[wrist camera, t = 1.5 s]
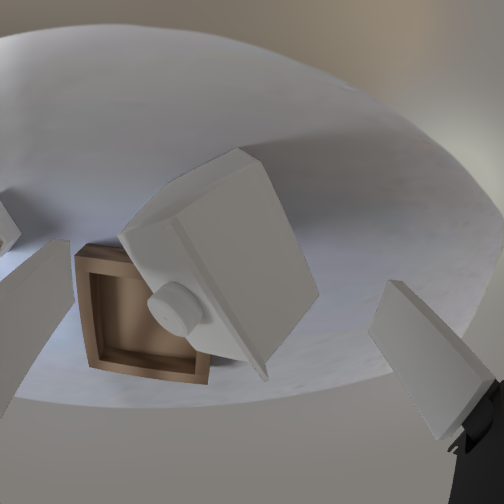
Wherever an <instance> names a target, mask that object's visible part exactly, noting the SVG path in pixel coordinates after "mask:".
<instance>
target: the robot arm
mask: <svg viewBox="0 0 504 504" xmlns="http://www.w3.org/2000/svg"><path fill="white" fill-rule="evenodd" d="M74 302H75V299H74V291H73V281H72V270H71V256H70V241H68V240H61V239H53V240H51V241H50V242H49V243H47V244H46V245H45V246H44V247H42V248H41V249H40V250H38V251H37V252H36V253H34V254H33V255H32V256H31V257H29V258H28V259H27V260H26V261H24V262H23V263H22V264H21V265H20V266H18V267H17V268H16V269H15V270H14V271H12V272H11V273H10V274H9V275H8V276H6V277H5V278H4V279H3V280H2V281H1V282H0V418H2V416H3V414H4V412H5V411H6V409H7V407H8V405H9V403H10V401H11V400H12V398H13V396H14V394H15V393H16V391H17V389H18V387H19V386H20V384H21V382H22V381H23V379H24V377H25V376H26V374H27V372H28V371H29V369H30V367H31V366H32V364H33V363H34V361H35V359H36V358H37V356H38V355H39V353H40V352H41V350H42V348H43V347H44V345H45V344H46V342H47V341H48V339H49V338H50V336H51V335H52V333H53V332H54V331H55V329H56V328H57V326H58V325H59V323H60V322H61V320H62V319H63V318H64V316H65V315H66V313H67V312H68V311H69V309H70V308H71V306H72V305H73V304H74ZM368 333H369V334H370V336H371V337H372V339H373V340H374V342H375V343H376V345H377V346H378V348H379V349H380V351H381V352H382V354H383V355H384V357H385V358H386V360H387V362H388V363H389V365H390V366H391V368H392V369H393V371H394V372H395V374H396V375H397V377H398V379H399V380H400V382H401V383H402V385H403V387H404V388H405V390H406V391H407V393H408V395H409V396H410V398H411V399H412V401H413V403H414V404H415V406H416V407H417V409H418V411H419V412H420V414H421V416H422V417H423V419H424V421H425V422H426V424H427V426H428V427H429V429H430V431H431V432H432V434H433V436H434V437H435V439H436V441H440V440H443V439H446V438H448V437H451V436H452V435H453V434H454V433H455V432H456V430H457V429H458V428H459V427H460V426H461V425H462V426H463V428H464V429H465V430H464V431H463V432H462V433H461V435H460V436H459V437H458V438H457V439H456V440H455V441H454V443H453V444H452V445H451V446H450V447H449V448H448V452H450V451H451V450H452V449H453V448H454V447H455V446H458V448H457V449H456V450H455V451H454V452H453V453H454V454H456V455H457V460H456V466H455V473H454V478H453V484H452V489H451V494H450V498H449V503H448V504H504V380H502V381H501V382H500V383H499V382H498V381H497V380H496V379H495V378H496V377H495V376H494V375H493V374H492V373H491V372H490V370H489V369H488V368H487V367H486V366H485V365H484V364H483V363H482V361H481V360H480V359H479V358H478V357H477V356H476V355H475V354H474V353H473V352H472V351H471V349H470V348H469V347H468V346H467V345H466V344H465V343H464V342H463V341H462V340H461V339H460V338H459V337H458V336H457V335H456V334H455V333H454V332H453V330H452V329H451V328H450V327H449V326H448V325H447V324H446V323H445V322H444V321H443V320H442V319H441V318H440V317H439V316H438V315H437V314H436V313H435V312H434V311H433V310H432V309H431V308H430V307H429V306H428V305H427V304H425V303H424V302H423V301H422V300H421V299H420V298H419V297H418V296H417V295H416V294H415V293H414V292H413V291H412V290H411V289H410V288H409V287H408V286H407V285H406V284H405V283H403V282H402V281H397V280H388V283H387V285H386V288H385V291H384V294H383V296H382V299H381V301H380V304H379V307H378V309H377V312H376V314H375V317H374V319H373V322H372V324H371V327H370V329H369V331H368Z"/></svg>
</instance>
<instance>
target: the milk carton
mask: <svg viewBox="0 0 504 504" xmlns="http://www.w3.org/2000/svg"><path fill="white" fill-rule="evenodd" d="M117 236H118V238H119V240H120V242H121V244H122V245H123V247H124V249H125V250H126V252H127V254H128V255H129V257H130V259H131V260H132V262H133V263H134V265H135V266H136V268H137V269H138V271H139V272H140V274H141V276H142V277H143V279H144V280H145V282H146V283H147V284H148V286H149V287H150V289H151V290H152V292H153V293H154V294H153V295H152V296H151V297H150V298H149V299H148V301H147V305H148V308H149V310H150V312H151V314H152V315H153V316H154V318H155V319H156V320H157V322H158V323H159V324H160V325H161V326H162V327H163V328H165V329H166V330H167V331H169V332H170V333H172V334H174V335H176V336H179V337H185V338H186V339H187V340H188V342H189V343H190V344H191V345H192V347H193V348H194V349H195V350H196V351H200V352H203V353H208V354H212V355H216V356H221V357H225V358H230V359H234V360H239V361H244V362H249V363H251V364H252V366H253V367H254V369H255V370H256V372H257V373H258V374H259V376H260V377H261V379H262V380H263V381H264V382H266V381H268V380H269V379H268V374H267V369H266V365H265V363H266V362H267V361H268V359H269V358H270V357H271V356H272V355H273V353H274V352H275V351H276V350H277V348H278V347H279V346H280V345H281V344H282V342H283V341H284V340H285V339H286V337H287V336H288V335H289V334H290V332H291V331H292V330H293V329H294V327H295V326H296V325H297V324H298V322H299V321H300V320H301V318H302V317H303V316H304V315H305V313H306V312H307V311H308V309H309V308H310V307H311V306H312V304H313V303H314V302H315V300H316V299H317V298H318V296H319V292H318V289H317V286H316V284H315V281H314V279H313V276H312V274H311V272H310V269H309V267H308V264H307V262H306V260H305V257H304V255H303V253H302V250H301V248H300V246H299V243H298V241H297V239H296V237H295V234H294V232H293V230H292V227H291V225H290V223H289V221H288V218H287V216H286V214H285V212H284V209H283V207H282V205H281V203H280V201H279V198H278V196H277V194H276V192H275V190H274V187H273V185H272V183H271V181H270V179H269V177H268V175H267V173H266V171H265V168H264V167H263V165H262V163H261V162H260V160H257V159H256V158H254V157H252V156H251V155H249V154H247V153H246V152H244V151H242V150H241V149H239V148H235V149H233V150H231V151H229V152H227V153H225V154H223V155H221V156H219V157H217V158H215V159H213V160H211V161H209V162H207V163H205V164H203V165H201V166H199V167H197V168H195V169H193V170H192V171H190V172H188V173H186V174H184V175H182V176H180V177H178V178H177V179H175V180H173V181H171V182H169V183H168V184H167V185H166V186H165V187H164V188H162V189H161V190H160V191H159V192H158V193H157V194H156V195H155V196H154V197H153V198H152V199H151V200H150V201H149V202H148V203H147V204H146V205H145V206H144V208H143V209H142V210H141V211H140V212H139V213H138V214H137V215H136V216H135V217H134V218H133V219H132V220H131V221H130V222H129V223H128V224H127V225H126V226H125V227H124V229H123V230H122V231H121V232H120V233H119V234H118V235H117Z"/></svg>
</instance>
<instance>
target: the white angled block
mask: <svg viewBox="0 0 504 504" xmlns="http://www.w3.org/2000/svg"><path fill="white" fill-rule="evenodd" d="M21 235H22V233H21V232H20V230H19V229H18V227H17V226H16V224H15V223H14V221H13V220H12V218H11V217H10V215H9V214H8V212H7V210H6V209H5V207H4V206H3V204H2V202H1V201H0V257H2V256H3V255H4V254H6V253H7V252H8V251H9V250H10V248H11V247H12V246H13V245H14V243H15V242H16V241H17V240H18V238H19V237H20V236H21Z"/></svg>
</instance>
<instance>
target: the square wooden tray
mask: <svg viewBox="0 0 504 504" xmlns="http://www.w3.org/2000/svg"><path fill="white" fill-rule="evenodd" d="M74 257H75V272H76V283H77V293H78V302H79V310H80V317H81V324H82V330H83V337H84V342H85V348H86V353H87V358H88V363H89V367H92V368H96V369H101V370H106V371H111V372H116V373H122V374H128V375H133V376H140V377H146V378H153V379H160V380H168V381H176V382H184V383H194V384H205V385H208V376H209V368H210V360H211V354H208V353H203V352H200V351H196V350H195V349H194V348H193V347H192V345H191V344H190V343H189V342H188V340H187V339H186V338H185V337H179V336H176V335H174V334H172V333H170V332H169V331H167V330H166V329H165V328H163V327H162V326H161V325H160V324H159V323H158V322H157V320H156V319H155V318H154V316H153V315H152V314H151V312H150V310H149V308H148V305H147V301H148V299H149V298H150V297H151V296H152V295H153V294H154V293H153V292H152V290H151V289H150V287H149V286H148V284H147V283H146V282H145V280H144V279H143V277H142V276H141V274H140V272H139V271H138V269H137V268H136V266H135V265H134V263H133V262H132V260H131V259H130V257H129V255H128V254H127V252H126V250H125V249H122V248H115V247H107V246H99V245H92V244H86V245H85V246H84V247H83V248H82V249H81V250H80V251H78V252H77V253H76V254H75V255H74Z"/></svg>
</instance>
